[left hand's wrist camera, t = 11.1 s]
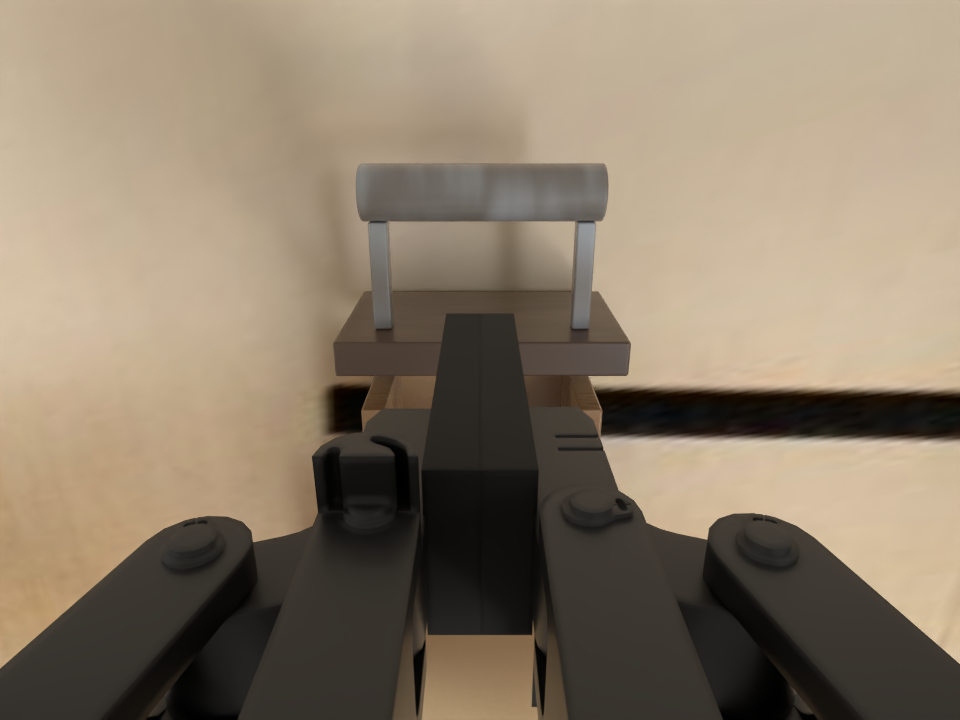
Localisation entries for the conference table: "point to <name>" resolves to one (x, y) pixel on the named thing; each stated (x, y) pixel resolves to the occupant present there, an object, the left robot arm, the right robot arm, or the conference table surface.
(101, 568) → the conference table surface
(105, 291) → the conference table surface
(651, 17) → the conference table surface
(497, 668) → the cabinet
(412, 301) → the drawer
